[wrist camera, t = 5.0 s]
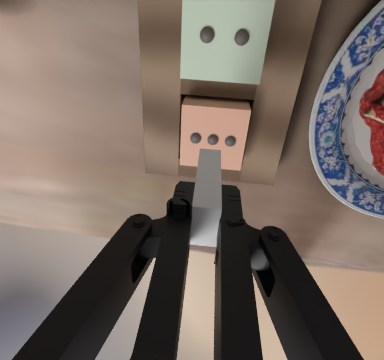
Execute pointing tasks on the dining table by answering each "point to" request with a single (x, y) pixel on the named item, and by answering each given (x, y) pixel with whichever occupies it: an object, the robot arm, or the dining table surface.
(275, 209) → the dining table surface
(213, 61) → the tile two
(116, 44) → the dining table surface
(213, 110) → the tile three
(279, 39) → the button board
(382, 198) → the ceramic plate
